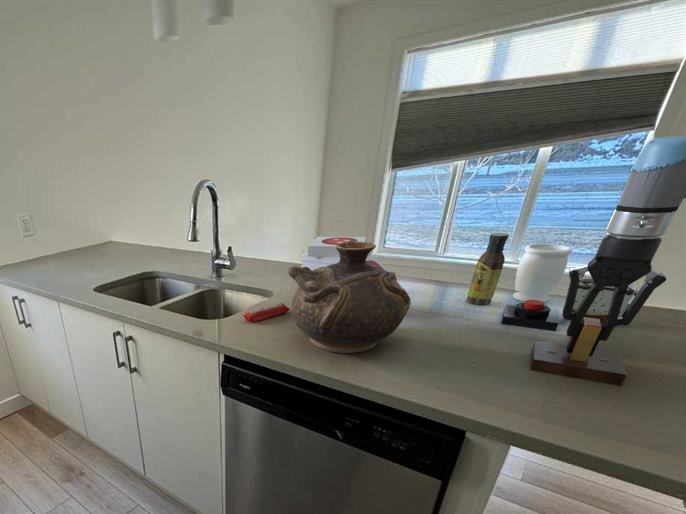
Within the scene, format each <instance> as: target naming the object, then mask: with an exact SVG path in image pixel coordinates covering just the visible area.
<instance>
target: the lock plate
mask: <svg viewBox="0 0 686 514" xmlns="http://www.w3.org/2000/svg"><path fill="white" fill-rule="evenodd" d="M567 345H568V344H562V343H556V342H551V341H544V340H543V341H542V340H534V341H533V344H532V346H531V348H530V361H529V362H530V363H529V370H531V371H536V372H542V373H548V374H553V375H558V376H564V377H570V378H576V379H580V380H586V381H592V382H598V383H602V384H603V383H604V384H608V385H614V386H615V385H616V386H619V387H621V386H622V385H623V384H624V382H625V379H626V378H627V376H628V373H627V370H626V367H625V364H624V361H623V358H622V354H621V352H618V351H612V350H611V351H610V350H605V349H597V348H596V349H595V351H594V353H593V355H592V356H588V358H587V360H586V362H582V361H576V360H570V353H567V350H566V347H567Z"/></svg>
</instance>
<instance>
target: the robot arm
mask: <svg viewBox="0 0 686 514" xmlns="http://www.w3.org/2000/svg"><path fill="white" fill-rule="evenodd" d="M684 199H686V135H676V136H675V135H673V136H662V137H661V136H660V137H655V138H653V139H650V140H649V141H648V142H646V143H645V144H644V146H643V147H642V149H641V151H640V152H639V154H638V155H637V158H636V160H635V162H634V164H633V166H632V167H631V169H630V174H629V176H628V178H627V181H626V184H625V186H624V189H623V191H622V194H621V196H620V198H619V201H618V203H617V205H616V207H615V210H614V211H613V214H612V216H611V218H610V221H609V223H608V225H607V227H606V230H605V231H606V235H604V236H602V238H601V241H600V244H599V246H598V247H597V250H596V252H595V255H594V256H593V258H592V259H591V260H590V261H589V262H588V263H587V265H583V266H579V267H576V266H575V267H574V266H573V267H571V268H569V270H568V275H569V279H570V281H569V285H568V288H567V293H566V295H565V301H564V305H563V308H562V317H563V318H567V319H570V320H571V321H569V324H568V327H567V329H566V336H567V337H570V339H569V341H568V343H567V344H566V345H567V347H566V350H567V353H572V351H573V349H574V346H575V344H576V342H577V340H578V338H579V335H580V333H581V331H582V329H583V327H584V320H582V319H583V317H584V315H585V314H586V312H587V311H588V309H589V308H590V306H591V305H592V303H593V301H594V300H595V298H596V297H597V295H598V294H599V292H600V291H601V290H602V288H603V287H605V286H613V287H615V291H614V295H613V298H612V301H611V305H610V308H609V311H608V315H607V318H606V322H600V324H601V328H602V329H601V331H600V333H599V335H598V337H597V339H596V341H595V343H594V345H593V347H592V350H591V352H590V354H589V356H592V355H593V353H594V351H595V349H597V347H598V345H599V343H600V341H602V342H606V341H607V340H609V338H610V336H611V334H612V331H613V330H614V328H616V327H617V326H629V325H630V324H631V323H632V322H633V320H634V319H635V317H636V316H637V315H638V314H639V312H640V311H641V310H642V308H643V306H644V305H645V303H646V302H647V301H648V299H649V298H650V297H651V295H652V294H653V292H654V290H656V289H657V288H658V287H659V286H661V285H662V284H664V283H666V281H667V277H666V276H665V274H664V273H662V272H657V271H655V270H652V269H653V268H652V267H653V266H652V261H653V259H654V257H655V256H656V253H657V251H658V249H659V248H660V245H661V243H662V242H663V240H662V238H661V237H662V236H663V235H666V233H667V231H668V230H669V228H670V225H671V223H672V221H673V219H674V217H675V216H676V212H677V211H678V209H679V208H680V206H681V204H682V203H683V200H684ZM586 273H589V275H590V278H591V279H593V281H594V282H593V283H592V285H591V287H590V289H589V291H588V292H587V294H586V295H585V297H584V299H583V300H582V302H581V303H580V305H579V307H578V308H577V310H576V311H575V312H572V309H573V306H574V302H575V298H576V294H577V290H578V287H579V280H580V279H584V277H585V275H586ZM643 277H645V278H644V279H643V282H644V283H643V284H642V286H641V287H640V288H639V290H637V291H638V292H637V294H636V296H633V299H631V301H630V302H629V303H628V305H627V306H626V309H624V311H623V312H622V314H621V315H620V316H619V313H620V309H621V306H622V303H623V299H624V296H625V293H626V291H627V288H628V285H630V284H632V285H633V283H635V282H637V281H638V280H640V279H642V278H643ZM618 316H619V317H618Z"/></svg>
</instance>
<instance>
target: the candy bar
mask: <svg viewBox="0 0 686 514" xmlns="http://www.w3.org/2000/svg"><path fill="white" fill-rule="evenodd" d="M289 311H291V309H290V307H288V306H287V305H285V304H284V303H282V302H280V303H276V304H271V305H268V306H263V307H259V308H256V309H251V310H248V311H246V312H245V313H244V314H242V316H243V317H244V319H245V321H246V322H249V323H256V322H259V321H263V320H266V319H270V318H274V317H278V316H281V315H285V314H287V313H288V312H289Z"/></svg>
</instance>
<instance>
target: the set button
mask: <svg viewBox="0 0 686 514" xmlns="http://www.w3.org/2000/svg"><path fill="white" fill-rule="evenodd" d="M523 303H524V306H523V307H524V308H526V309H531V310H543V307H544V305H546V302H543V301H540V300H526V301H525V302H523Z"/></svg>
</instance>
